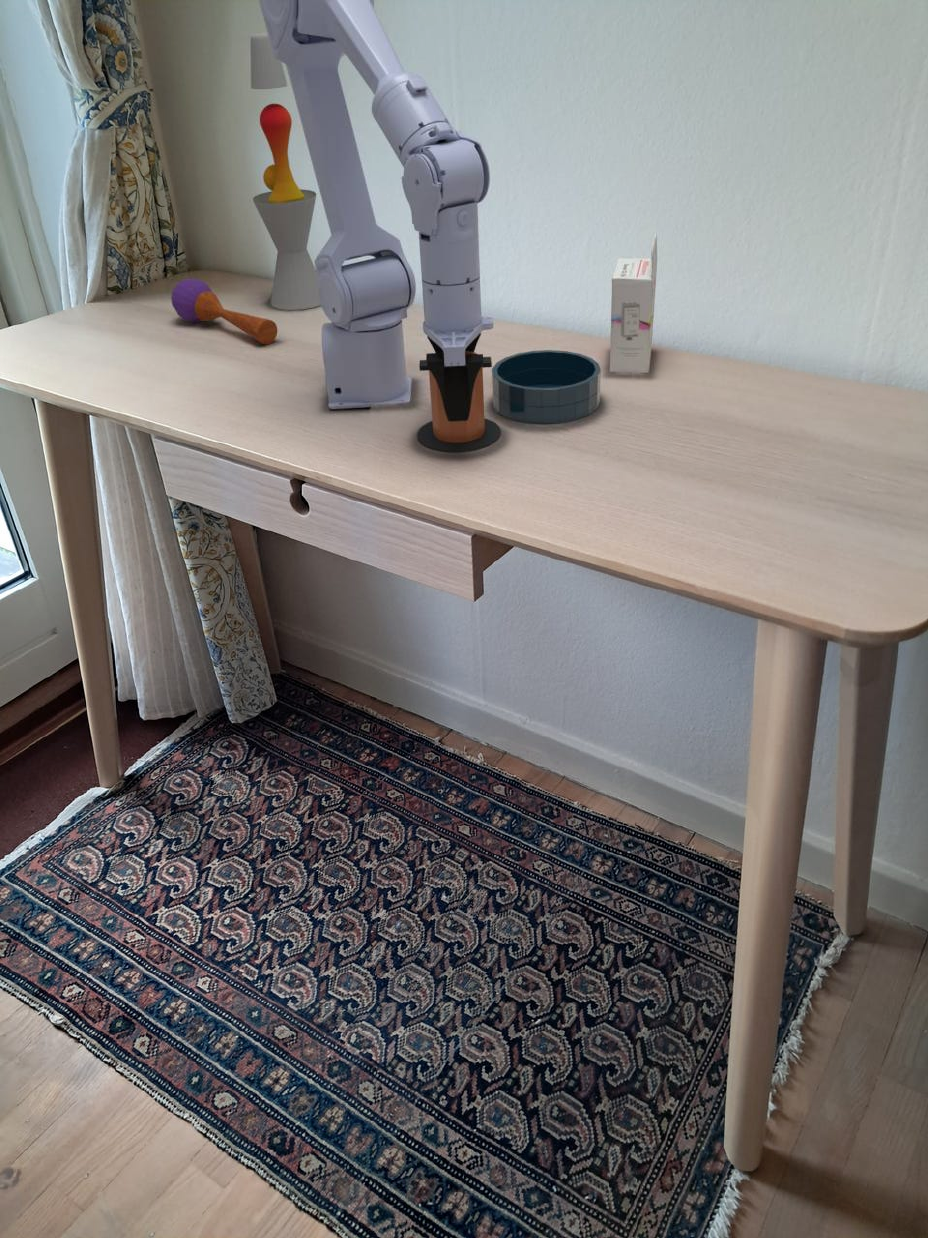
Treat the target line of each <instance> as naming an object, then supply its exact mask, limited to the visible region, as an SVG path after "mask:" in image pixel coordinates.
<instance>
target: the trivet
mask: <svg viewBox="0 0 928 1238" xmlns="http://www.w3.org/2000/svg"><path fill="white" fill-rule="evenodd" d="M484 423H485V432H484V434H483V435H482V436H481V437H480V438H478V439H476V440H473V441H470V442H464V443H449V442H444V441H441V440H439V439H437V438H436V437H435V436H434V434H433V422H432V420H431V421H428V422H426V423H425V424H424V425H422V426H421V427H419V429H418V431H417V433H416V440H417V442H418V443H419V444H420V445H421V446H423V447H424V448H426V449H428V450H432V451H436V452H441V453H447V454H449V453H450V454H457V453H458V454H459V453H460V454H461V453H471V452H475V451H479V450H483V449H485V448H488V447H490V446H492V445H494V444H495V443H497V441H499V439H500V438H501V435H502V430H501V428H500V425H498V424H497V423H496V422H495V421H492V420H490V419H488V418H485V417H484Z"/></svg>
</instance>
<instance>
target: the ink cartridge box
mask: <svg viewBox="0 0 928 1238" xmlns="http://www.w3.org/2000/svg"><path fill="white" fill-rule="evenodd" d="M650 255H651V258H649V257H648V258H646V257H645V258H643V257H641V258H637V257H635V258H633V257H627V258H626V257H623V258H622V257H621V258H617V259H616V263H615V265H614V269H613V271H612V274H611V303H610V304H611V307H610V309H611V310H610V313H611V314H610V346H609V347H610V349H609V372H610V373H643V374H648V373H650V372H649V371H650V366H651V355H652V345H653V343H652V342H653V332H654V331H653V330H654V316H655V301H656V287H657V286H656V285H657V271H658V234H657V232H655V233H654V237H653V241H652V246H651V251H650Z"/></svg>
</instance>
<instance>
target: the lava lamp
mask: <svg viewBox="0 0 928 1238" xmlns="http://www.w3.org/2000/svg"><path fill="white" fill-rule="evenodd" d="M287 87H288V82H287V78H286V73H285V71H284V66H283V62H281V61H279V60H278V59H276V58H275V56H274V53H273V49H272V46H271V43H270V40H269V37H268V33H267V32H258V33H253V34H251V36H250V88H251V89H252V90H272V89H273V90H274V89H281V88H287ZM292 121H293V120H292V116H291V114H290V112H289V110H288V109H287V108H286V107H285V106H283V105H282V104H279V103H270V104H267V105H265V106H264V107H263V108H262V109H261V111H260V114H259V125H260V128H261V130H262V132H263V134H264V137H265V139H266V141H267V144H268V146H269V149H270V151H271V154H272V159H273V164H271V165H269V166H267V167H266V168H265V169H264V172H263V176H262V177H263V178H262V179H263V183H264V185H265V187H266V188H267V189H268V190H270V191H266V192H263V193H262V192H261V193H259V194H257V195H255V196H253V198H252V201H253V203H254V205H255V208H256V210H257V212H258V213H259V216H260V218H261V220H262V222H263V224H264V226H265V229H266V230H267V232H268V234H269V236H270V238H271V240H272V243H273V244H274V246H275V249H276V251H277V252H276V253H277V254H276V260H275V269H274V274H273V283H272V288H271V289H272V290H271V297H270V305H271V307H272V308H274V309H277V310H282V311H301V310H308V309H312V308H315V307H316V308H317V307H319V306H321V304H320V300H319V296H318V279H317V273H316V268H315V264H314V262H313V259H312V258H311V256H310V253H309V251H308V249H307V247H308V243H309V238H310V234H311V233H310V231H311V226H312V222H313V217H314V216H313V215H314V211H315V205H316V200H317V192H315V190H314V191H313V190H309V189H300V188H299V186H298V184H297V183H296V181H295V179H294V177H293V174H292V171H291V168H290V160H289V144H290V136H291V130H292V124H293V122H292Z"/></svg>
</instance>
